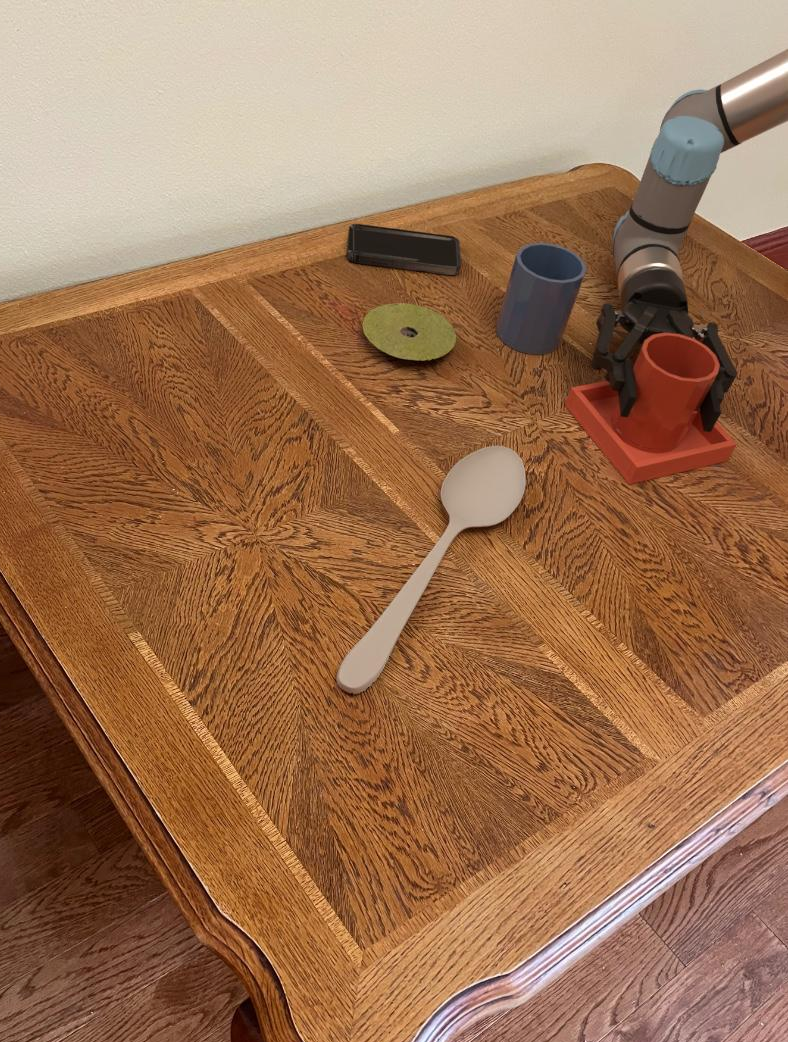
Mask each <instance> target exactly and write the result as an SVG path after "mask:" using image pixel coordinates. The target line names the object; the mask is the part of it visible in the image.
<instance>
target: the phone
mask: <svg viewBox="0 0 788 1042" xmlns="http://www.w3.org/2000/svg"><path fill="white" fill-rule="evenodd" d="M346 246H347V247H346V259H347V260H348V261H349V262H350V263H355V264H362V265H368V266H369V265H370V266H377V267H384V268H391V269H399V270H407V271H416V272H424V273H431V274H439V275H447V276H457V275H458V274H460V271H461V266H462V256H461V242H460V239H459V238H458V237H456V236H453V235H446V234H438V233H431V232H423V231H415V230H408V229H401V228H392V227H386V226H379V225H369V224H362V223H352V224H350V225H349V227H348V232H347V245H346Z"/></svg>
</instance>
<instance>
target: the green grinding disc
mask: <svg viewBox="0 0 788 1042" xmlns="http://www.w3.org/2000/svg"><path fill="white" fill-rule="evenodd" d="M362 330H363V334H364V336H365V337H366V338H367V340H368V341H369V342H370V343H371V344H372V345H373V346H374V347H375V348H376V349H378V350H380V351H381V352H383V353H386V354H387V355H389V356H392V357H394V358H398V359H402V360H407V361H408V360H409V361H417V362H419V361H424V362H425V361H432V359H433V360H436V359H439V358H441V357H444V356H445V355H447V354H448V353H449V352H450V351H451V350H452V349H453V348H454V347H455V345H456V342H457V334H456V330H455V329H454V326H453V325H452V324H451V323H450V321H449V320H448V319H447V318H445V317H444V316H443V315H442V314H441V313H438V312H437V311H435V310H434V309H430V308H428V307H426V306H422V305H419V304H413V303H406V302H405V303H404V302H399V303H397V302H396V303H386V304H383V305H379V306H377V307H374V308H372V309H371V310H370V311H369V312H367V314H366V315H365V316H364V318H363V321H362Z"/></svg>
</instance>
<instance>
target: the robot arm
mask: <svg viewBox="0 0 788 1042" xmlns="http://www.w3.org/2000/svg"><path fill="white" fill-rule="evenodd" d="M787 122H788V48H786V49H785V50H783V51H781V52H778V53H777V54H775V55H773V56H771V57H769V58H768V59H766V60H764V61H762V62H760V63H758V64H757V65H756V64H755V65H754V66H752V67H750V68H748V69H746V70H745V71H743V72H741V73H739V74H738V75H736V76H733V77H731V78H730V79H728V80H726V81H724V82H722V83H720V84H718V85H716V86H714V87H711V88H709V89H694V90H689V91H687V92H685V93H683V94H681V95H680V96H679V97H678V98H677V99H676V100H674V101H673V103H672V105H671V106H670V107H669V109H668V110H667V111H666V112H665V114H664V117H663V118H662V121H661V125H660V127H659V133H658V134H657V137H656V138H655V140H654V141H653V145H652V146H651V150H650V153H649V156H648V160H647V161H646V165H645V167H644V170H643V173H642V175H641V176H642V177H641V179H640V181H639V185H638V188H637V190H636V193H635V196H634V199H633V201H632V203H631V206H630V208H629V209H628V210H627V211H626V212H625V213H624V214H622V216H620V218H619V219H618V221H617V223H616V224H615V227H614V230H613V239H612V244H611V245H612V254H613V258H614V265H615V270H616V271H615V272H616V278H617V289H618V297H619V305H620V310H615V309H614V306H613V305H612V304H611V303H608V302H607V303H603V304H602V306H601V309H600V311H599V315H598V317H597V319H596V322H595V325H596V327H597V331H598V335H597V340H596V343H595V347H594V351H593V356H592V358H591V364H590V367H591V369H592V370H595V371H600V370H602V369H603V370H605V371H606V373H605V375H604V381H608V382H610V388H611V389H612V390H614V391H618V395H619V405H620V415H621V417H627V418H628V416H629V413H630V411H631V409H632V407H633V405H634V403H635V400H636V398H637V396H636V388H635V379H634V371H633V366H634V363H633V360H632V359H630V358H631V357H632V356H633V354H634V353H635V352H636V351H637V350H638V349H639V348H640V346H642V345H643V343H644V341H645V340H646V339H647V338H649V337H650V336H652V335H654V334H660V333H674V334H681V335H684V336H687V337H690V338H693V339H695V340H697V341H699V342H700V343H702V344H704V345H706V346H707V347H708V348H709V349H710V350H711V351H712V352H713V353H714V354H715V355H716V357H717V359H718V362H719V364H720V367H719V371H718V374H717V376H716V378H715V380H714V382H713V384H712V386H711V387H710V389H709V391H708V393H707V395H706V397H705V399H704V401H703V403H702V404H701V406H700V408H699V409H700V414H701V420H702V425H703V430H704V431H707V432H711V430H712V429H713V427H714V425H715V423H716V422H717V421H718V420H719V418H720V417H721V414H722V409H721V404H722V402H723V400H724V398H725V393H728V392H729V390H730V388H731V387H732V385H733V383H734V382H735V379H736V377H737V376H738V371H737V369H736V367H735V365H734V363H733V362H732V359H731V357H730V355H729V353H728V352H727V350H726V348H725V345H724V344H723V342H722V340H721V338H720V336H719V325H718V324H717V323H715V322H713V321H709V322H708V323H707V325H706V326H702V325H699V324H695V322H694V320H693V318H691V316H690V315H689V301H688V296H687V292H686V287H685V280H684V276H683V275H684V274H683V271H682V267H681V261H680V256H679V255H680V254H679V251H680V248H681V247H682V243H683V241H684V239H685V236H686V234H687V232H688V230H689V228H690V226H691V223H692V220H693V218H694V215H695V213H696V211H697V208H698V207H699V204H700V201H701V200H702V197H703V195H704V194H705V191H706V188H707V186H708V184H709V183H710V179H711V178H712V175H713V174H714V173H715V172H716V170H717V167H718V163H719V159H720V156H721V154H723V153H724V152H727V151H729V150H731V149H733V148H735V147H737V146H739V145H742V144H743V143H744V142H747V141H749V140H751V139H754V138H755V137H757V136H759V135H762V134H763V133H766V132H768V131H770V130H772V129H774V128H777V127H779V126H781V125H783V124H785V123H787ZM618 324H619V325H620V326H621V327H622V328H623V329H624V330H625V331H626V332H627V333H628V335H627V336H626V338H625V339H624V340H623V341H622V343H621V344H620V346H618V348H617V349H616V351H614V353H612V352H609V351H610V347H611V343H612V338H613V333H614V330H615V328H616V327H617V326H618Z"/></svg>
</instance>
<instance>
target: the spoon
mask: <svg viewBox="0 0 788 1042" xmlns="http://www.w3.org/2000/svg"><path fill="white" fill-rule="evenodd" d="M526 477H527V476H526V469H525V465H524V462H523V460H522V458H521V457H520V455H519V454H518V452H516V450H515V451H514V450H513V449H512V448H509V447H507V446H504V445H492V446H485V447H483V448H479V449H478V450H475V451H473V452H471V453H469V454H468V455H466V456H464V457H463V458H461V459H460V460H459V461H457V462H456V463H455V464H454V465H453V466H452V467H451V469H450V470H449V471H448V473H447V474H446V476H445V478H444V479H443V482H442V485H441V488H440V499H441V503H442V506H443V507H444V509H445V511H446V512H447V514H448V516H449V521H448V525H447V527H446V528H445V530H444V532H443V533H442V535H441V536H440V538H439V539H438V541H437V542H436V543H435V545H434V546H433V547H432V548H431V550H430V551H429V553H428V554H427V555H426V556H425V558H424V559H423V560H422V562H421V563H420V564H419V566H418V567H416V570H414V572H413V573H412V575H411V576H410V577H409V578H408V580H407V581H406V583H405V584H404V585H403V586H402V587H401V589H400V590H399V591H398V592H397V594H396V595H395V597H394V598H393V599H392V601H391V602H390V603H389V605H388V606H387V607H386V608H385V609H384V611H383V612H382V613H381V615H380V616H379V617H378V619H377V620H376V621H375V622H374V623H373V625H372V626H371V627H370V628H369V630H368V631H367V632H366V633H365V634H364V635H363V636H362V638H360V639H359V640H358V642H357V643H356V644H355V645H354V646H352V648H350V650H349V651H348V653H347V654H346V655H345V656H344V658H343V660H342V661H341V663H340V665H339V667H338V670H337V674H336V683H337V686H338V685H339V686H338V687H339V688H340V689H341V690H343V691H344V692H346V693H348V694H351V693H353V694H352V695H358V694H357V693H359V694H361V693H360V692H362V693H363V691H364V692H365V691H367V690H368V689H369V688H371V687H372V686H373V684H374V683H375V682H377V680H378V679H379V678H380V676H381V675H380V673H381V672H382V670H383V669H384V670H385V668H386V666H385V664H386V663H387V664H388V662H389V659H390V657H391V655H392V653H393V651H394V649H395V646H396V644H397V642H398V640H399V638H400V636H401V635H402V633H403V631H404V628H405V627H406V625H407V623H408V621H409V619H410V617H411V615H412V614H413V612H414V610H415V608H416V607H417V605H418V603H419V601H420V600H421V598H422V597H423V594H424V592H425V591H426V588H427V587H428V585H429V583H430V581H431V580H432V578H433V576H434V574H435V572H436V570H437V569H438V567H439V565H440V563H441V561H442V560H443V558H444V557H445V554H446V553H447V550H448V549H449V548H450V546H451V544H452V542H453V541H454V540H455V538H456V537H457V536H458V535H459V534H460V533H461V532H463V530H466V529H469V528H470V529H471V528H487V527H493V526H496V525H499V524H500V523H503V522H504V521H506V520H507V519H508V518H509V517H510V516H511V515H512V514H513V513H514V511H516V509H517V507H518V506H519V505H520V503H521V501H522V499H523V496H524V494H525V491H526V490H525V489H526V484H527V483H526V482H527V478H526ZM391 652H392V653H391ZM389 656H390V657H389ZM387 661H388V662H387ZM387 664H386V665H387ZM384 667H385V668H384ZM384 670H383V671H384ZM382 673H383V672H382ZM382 673H381V674H382ZM379 675H380V676H379ZM377 678H378V679H377ZM373 682H374V683H373ZM372 683H373V684H372ZM368 687H369V688H368ZM367 688H368V689H367ZM366 689H367V690H366Z"/></svg>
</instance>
